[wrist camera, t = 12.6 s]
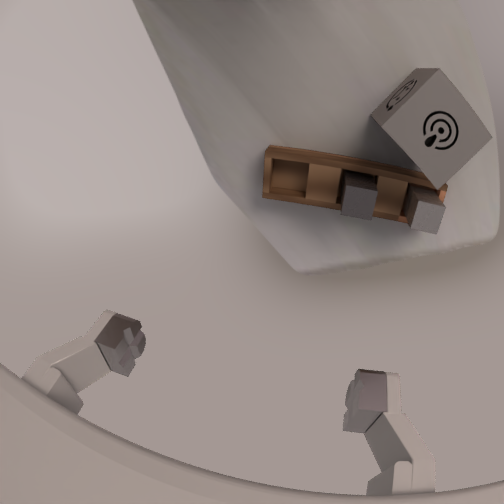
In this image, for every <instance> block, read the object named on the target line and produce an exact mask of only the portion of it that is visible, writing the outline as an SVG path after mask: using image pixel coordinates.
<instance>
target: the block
mask: <svg viewBox="0 0 504 504" xmlns="http://www.w3.org/2000/svg"><path fill="white" fill-rule="evenodd" d="M377 194H378V190H377V187H376V184H375V181H374V178H373V175H372V174H368V173H363V172H357V171H352V170H347V169H344V175H343V181H342V187H341V192H340V200H341V215H346V216H351V217H357V218H362V219H367V220H371V219H372V215H373V211H374V207H375V202H376V198H377Z"/></svg>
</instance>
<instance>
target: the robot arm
mask: <svg viewBox="0 0 504 504" xmlns="http://www.w3.org/2000/svg"><path fill="white" fill-rule="evenodd" d="M141 327H142V326H141V323H140V321H138V320H135V319H132V318H129V317H126V316H124V315H121V314H118V313H115V312H112V311H109V310H106V311H104V312H103V313H102V314H101V316H100V317H99V318H98V319H97V321H96V322H95V323H94V325H93V326H92V327H91V328H90V330H89V331H88V332H87V334H86V335H85V336H84V337H82V336H81V337H79V338H76V339H74V340H72V341H71V342H68V343H66V344H64V345H62V346H60V347H57V348H55V349H53V350H51V351H49V352H47V353H45V354H42V355H40V356H38V357H37V358H36V359H35V361H34V362H33V363H32V365H31V366H30V367H29V369H28V370H27V371H26V373H25V374H24V376H23V377H22V378H19V377H18V376H17V375H15V374H14V373H13V372H11V371H10V370H9V369H7V368H6V367H5V366H4V365H2V364H1V363H0V504H504V480H503V481H498V482H494V483H490V484H486V485H480V486H475V487H470V488H464V489H458V490H451V491H443V492H435V458H434V457H433V455H432V454H431V452H430V451H429V449H428V448H427V446H426V445H425V443H424V441H423V440H422V438H421V437H420V435H419V434H418V433H417V431H416V429H415V428H414V426H413V425H412V423H411V422H410V420H409V419H408V418H407V416H406V414H405V413H401V390H400V376H399V374H398V373H387V372H383V371H373V370H364V369H358V370H357V371H356V373H355V379H354V380H352V381H351V382H350V384H349V387H348V390H347V394H346V401H345V405H346V407H347V408H348V410H347V412H346V413H345V414H344V422H343V431H350V432H358V433H365V434H364V435H365V437H366V440H367V442H368V444H369V446H370V448H371V450H372V452H373V454H374V457H375V459H376V461H377V463H378V465H379V467H380V469H381V472H382V473H380V474H379V475H377V476H375V477H374V478H372V479H371V480H370V481H368V486H367V494H366V495H347V494H332V493H321V492H311V491H303V490H296V489H290V488H283V487H277V486H271V485H267V484H262V483H257V482H252V481H247V480H243V479H239V478H235V477H231V476H227V475H223V474H219V473H216V472H213V471H209V470H206V469H202V468H199V467H196V466H193V465H190V464H187V463H184V462H181V461H178V460H175V459H173V458H170V457H167V456H164V455H162V454H159V453H156V452H154V451H151V450H149V449H146V448H144V447H142V446H139V445H137V444H135V443H133V442H130V441H128V440H126V439H124V438H122V437H119V436H117V435H115V434H113V433H111V432H109V431H107V430H105V429H103V428H101V427H99V426H97V425H95V424H93V423H91V422H89V421H88V420H86V419H84V418H82V417H80V416H79V415H78V413H79V411H80V409H81V408H82V406H83V401H82V400H81V398H80V397H79V396H78V395H77V393H78V392H80V391H82V390H83V389H85V388H86V387H88V386H89V385H91V384H92V383H94V382H95V381H97V380H99V379H100V378H102V377H103V376H105V375H106V374H108V373H109V372H111V371H114V372H116V373H119V374H122V375H125V376H127V377H128V376H129V374H130V373H131V371H132V369H133V368H134V366H135V359H136V358H138V357H140V356H141V354H142V353H143V351H144V348H145V344H146V342H145V341H146V338H145V335H144V333H143V332H142V331H141V330H140V329H141ZM110 370H111V371H110Z"/></svg>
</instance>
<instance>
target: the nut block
mask: <svg viewBox="0 0 504 504" xmlns="http://www.w3.org/2000/svg"><path fill="white" fill-rule="evenodd" d="M445 208H446V207H445V205H444V204H443V203H442V201H441V200H440V198H439V197H438V195H437V194H436V193H435V191H434V190H433V188H430V187H426V186H422V185H418V184H414V183H410V182H408V185H407V189H406V193H405V197H404V201H403V204H402V209H403V212H404V214H405V216H406V219H407V221H408V224H409V226H410V229H414V230H419V231H424V232H428V233H433V234H437V232H438V229H439V226H440V223H441V220H442V217H443V214H444V211H445Z"/></svg>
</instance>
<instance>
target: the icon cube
mask: <svg viewBox="0 0 504 504" xmlns="http://www.w3.org/2000/svg"><path fill="white" fill-rule="evenodd" d="M371 116H372V117H373V118H374V119H375V121H376V122H377V123H378V124H379V125H380V126H381V127H382V128H383V129H384V130H385V131H386V132H387V133H388V134H389V135H390V136H391V138H392V139H393V140H394V141H395V142H396V143H397V144H398V145H399V146H400V147H401V148H402V149H403V150H404V151H405V153H406V154H407V155H408V156H409V157H410V158H411V159H412V160H413V161H414V163H415V164H416V165H417V166H418V167H419V168H420V170H421V171H422V172H423V173H424V174H425V175H426V177H427V178H428V179H429V180H430V181H431V183H432V184H433V185H434V186H435V188H436V189H437V190H438V189H439V188H440V187H441V186H442V185H443V184H445V183H446V182H447V181H448V180H449V179H450V178H451V177H452V176H453V175H454V174H455V173H456V172H457V171H459V170H460V169H461V168H462V167H463V166H464V165H465V164H466V163H467V162H468V161H469V160H470V159H471V158H472V157H473V156H474V155H475V154H476V153H477V152H478V151H479V150H480V149H481V148H482V147H483V146H484V145H485V144H486V143H487V142H488V141H489V140H490V139H491V138H492V136H491V134H490V133H489V131H488V130H487V128H486V127H485V126H484V124H483V123H482V121H481V120H480V118H479V117H478V116H477V114H476V113H475V111H474V110H473V109H472V107H471V106H470V105H469V103H468V102H467V101H466V100H465V98H464V97H463V96H462V94H461V93H460V92H459V91H458V89H457V88H456V87H455V86H454V85H453V83H452V82H451V81H450V80H449V79H448V78H447V76H446V75H445V74H444V73H443V72H442V71H441V70H440V68H416V69H415V70H414V71H413V72H412V73H411V74H410V75H409V76H408V77H407V78H406V79H405V80H404V81H403V82H402V83H401V84H400V85H399V86H398V87H397V88H396V89H395V90H394V91H393V92H392V93H391V94H390V95H389V96H388V97H387V98H386V99H385V100H384V101H383V102H382V103H381V104H380V105H379V106H378V107H377V109H376V110H375V111H374V112H373V113H372V114H371Z"/></svg>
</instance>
